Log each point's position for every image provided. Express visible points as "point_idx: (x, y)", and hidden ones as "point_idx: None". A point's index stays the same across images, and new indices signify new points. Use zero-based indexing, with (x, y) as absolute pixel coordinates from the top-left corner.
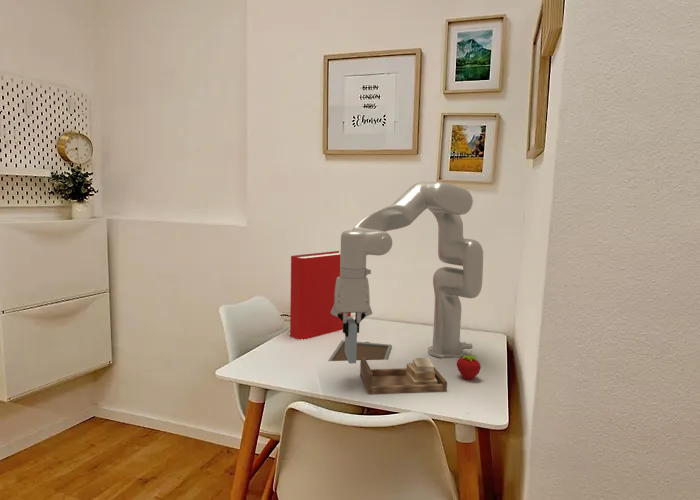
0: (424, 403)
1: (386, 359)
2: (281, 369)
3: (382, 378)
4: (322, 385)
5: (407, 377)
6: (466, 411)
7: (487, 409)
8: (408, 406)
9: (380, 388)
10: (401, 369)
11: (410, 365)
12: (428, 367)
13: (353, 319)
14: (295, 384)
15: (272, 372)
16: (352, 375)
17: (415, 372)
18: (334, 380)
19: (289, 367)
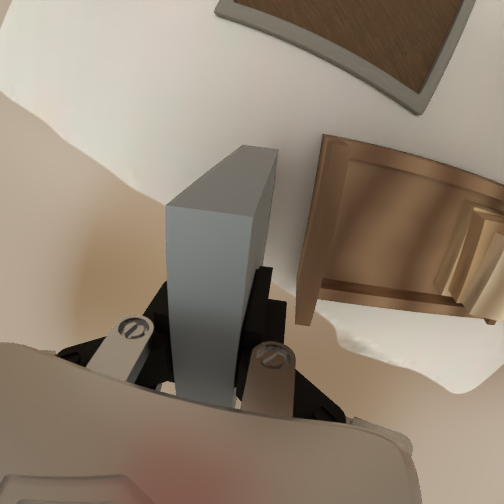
0: (414, 329)
1: (464, 26)
2: (83, 30)
3: (391, 187)
4: (180, 161)
5: (460, 216)
6: (455, 365)
7: (487, 361)
8: (373, 334)
9: (333, 299)
10: (467, 185)
11: (484, 240)
12: (491, 318)
13: (237, 330)
14: (107, 143)
15: (61, 55)
16: (304, 95)
17: (460, 296)
18: (227, 127)
19: (105, 12)
